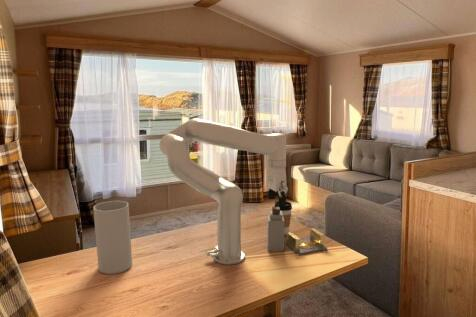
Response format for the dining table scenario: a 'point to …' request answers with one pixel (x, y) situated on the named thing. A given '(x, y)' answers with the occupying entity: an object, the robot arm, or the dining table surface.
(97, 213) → the cylinder vase
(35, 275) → the dining table surface
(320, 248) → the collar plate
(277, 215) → the perfume bottle
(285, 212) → the coffee cup
